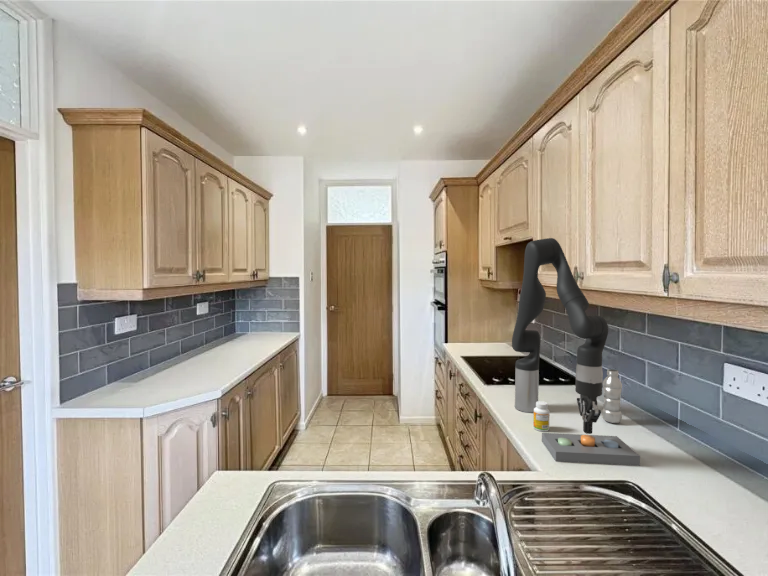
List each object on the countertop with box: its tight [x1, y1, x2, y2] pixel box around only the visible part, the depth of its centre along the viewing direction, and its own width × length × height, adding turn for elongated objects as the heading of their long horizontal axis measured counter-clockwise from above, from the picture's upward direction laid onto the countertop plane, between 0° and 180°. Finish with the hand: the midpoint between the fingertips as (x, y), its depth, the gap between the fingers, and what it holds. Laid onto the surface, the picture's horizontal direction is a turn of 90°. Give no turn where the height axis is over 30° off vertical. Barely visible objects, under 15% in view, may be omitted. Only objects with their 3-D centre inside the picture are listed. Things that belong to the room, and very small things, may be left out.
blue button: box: [604, 440, 618, 448], centre depth 122 cm, size 4×4×2 cm
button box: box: [541, 432, 641, 467], centre depth 123 cm, size 14×24×3 cm, turn 84°
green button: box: [558, 438, 572, 446], centre depth 123 cm, size 4×4×2 cm
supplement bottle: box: [532, 400, 550, 433], centre depth 141 cm, size 5×5×10 cm
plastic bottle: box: [601, 368, 623, 424], centre depth 148 cm, size 6×7×20 cm
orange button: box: [581, 434, 595, 447], centre depth 123 cm, size 4×4×2 cm
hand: (587, 432), depth 122 cm, fingers closed
